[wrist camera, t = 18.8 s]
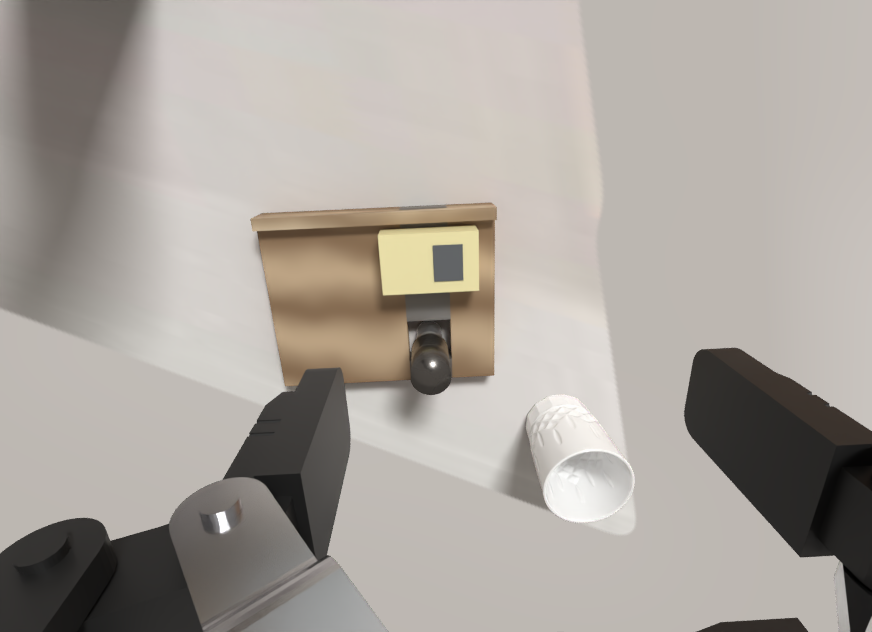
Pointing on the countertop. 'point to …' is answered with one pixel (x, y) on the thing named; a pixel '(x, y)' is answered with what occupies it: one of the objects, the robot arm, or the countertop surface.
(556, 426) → the white cup
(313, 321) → the board
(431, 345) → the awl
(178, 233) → the countertop surface
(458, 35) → the countertop surface
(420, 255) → the stud finder
